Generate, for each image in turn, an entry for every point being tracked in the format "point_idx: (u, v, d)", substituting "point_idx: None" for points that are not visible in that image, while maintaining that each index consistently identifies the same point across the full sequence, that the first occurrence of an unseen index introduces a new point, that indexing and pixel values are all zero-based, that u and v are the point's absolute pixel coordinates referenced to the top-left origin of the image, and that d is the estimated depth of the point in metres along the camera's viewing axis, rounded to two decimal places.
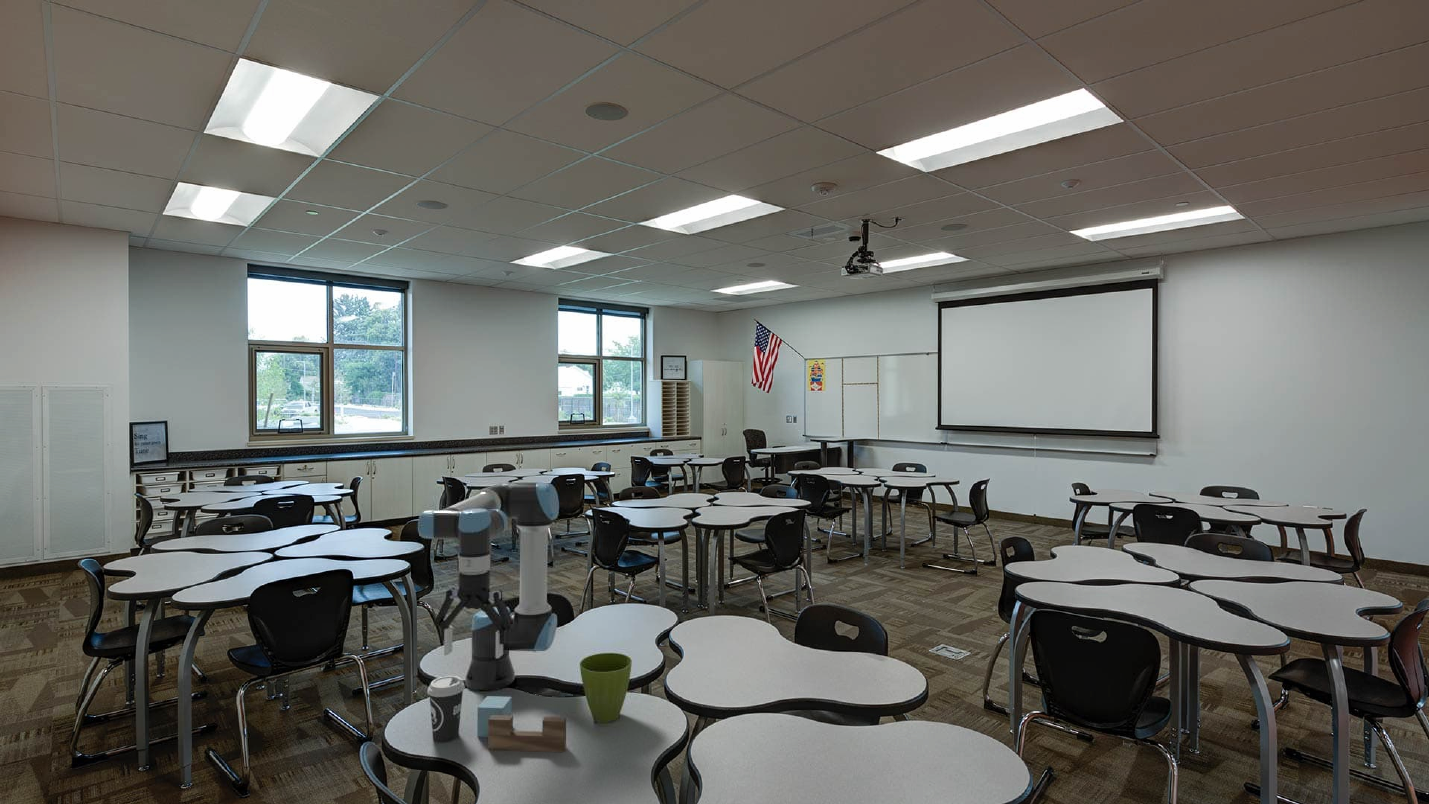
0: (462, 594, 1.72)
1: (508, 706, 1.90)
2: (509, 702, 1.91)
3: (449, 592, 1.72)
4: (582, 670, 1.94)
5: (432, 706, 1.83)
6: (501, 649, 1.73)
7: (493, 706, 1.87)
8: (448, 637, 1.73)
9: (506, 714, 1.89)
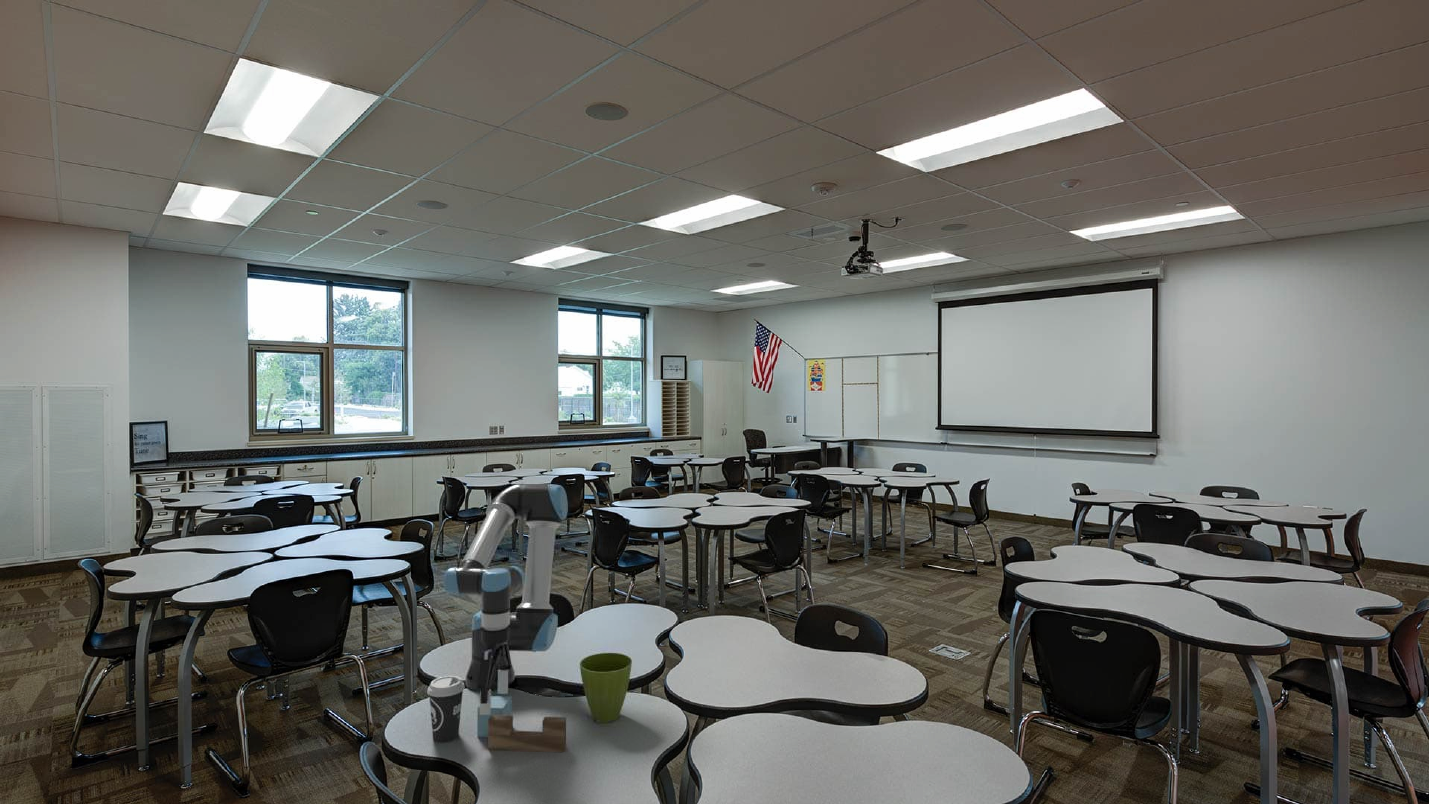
0: None
1: (508, 706, 1.90)
2: (509, 702, 1.91)
3: None
4: (582, 670, 1.94)
5: (432, 706, 1.83)
6: (486, 708, 1.82)
7: (493, 706, 1.87)
8: (500, 678, 1.96)
9: (506, 714, 1.89)
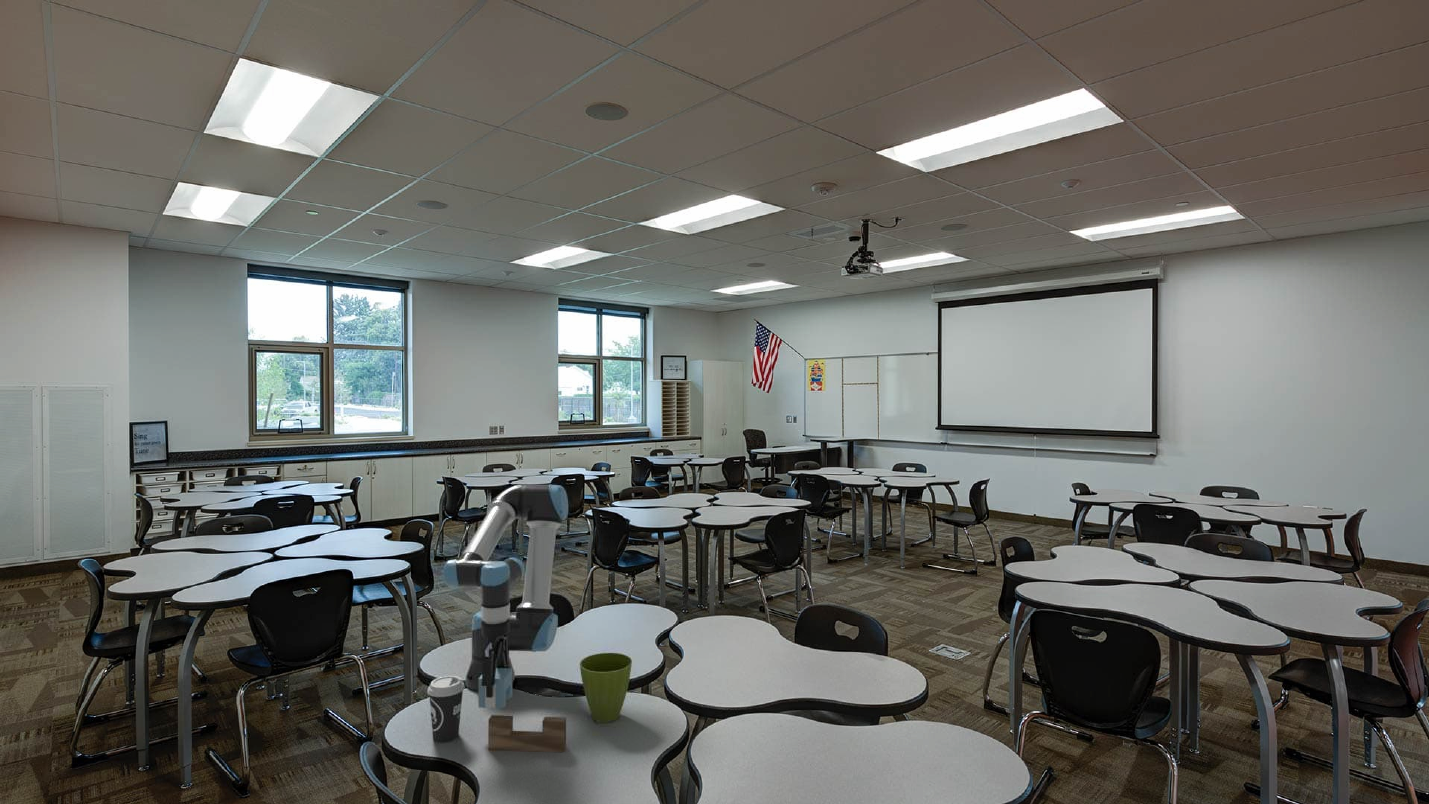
0: None
1: (509, 677, 1.91)
2: (510, 673, 1.92)
3: None
4: (582, 670, 1.94)
5: (432, 706, 1.83)
6: (491, 702, 1.86)
7: None
8: None
9: (507, 685, 1.89)
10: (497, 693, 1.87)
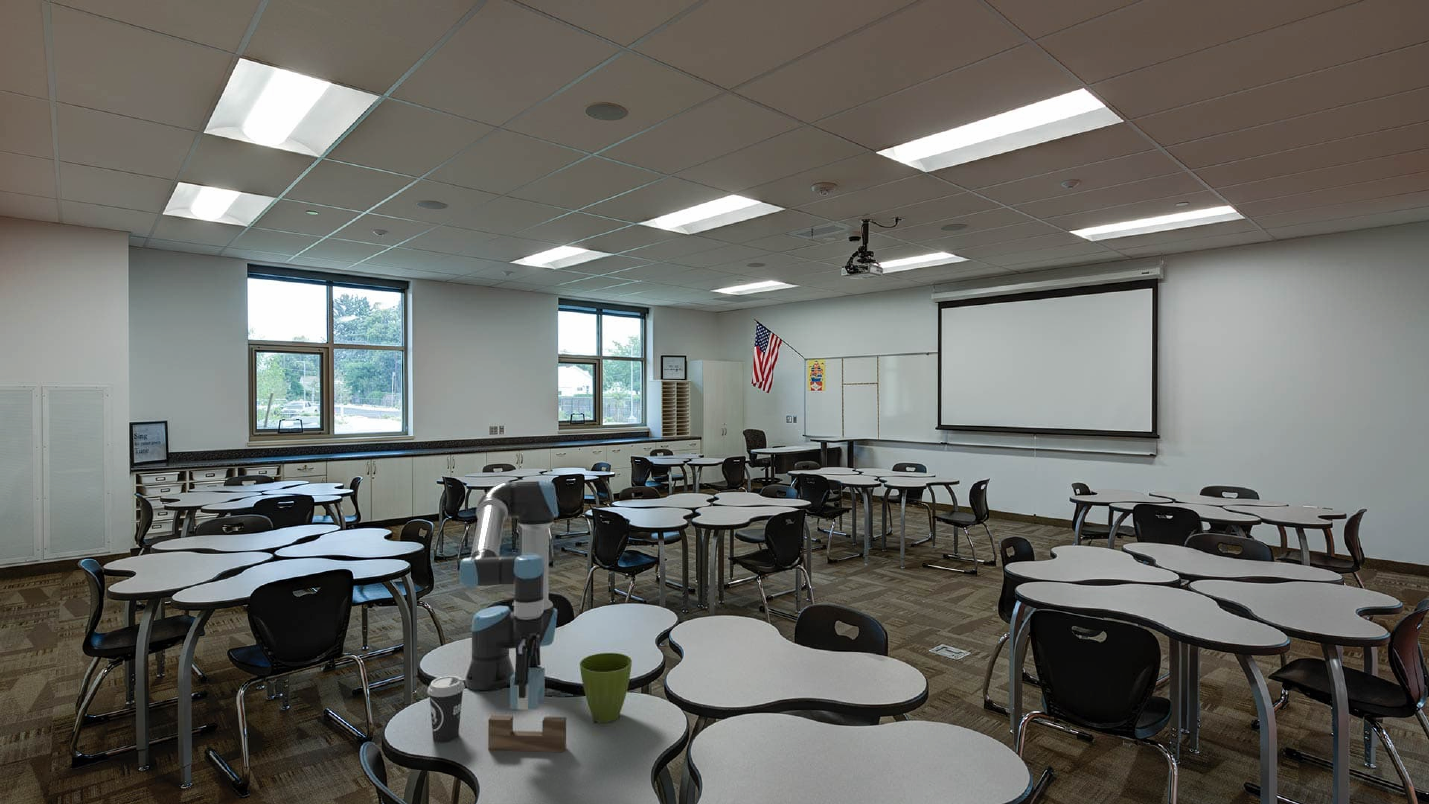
0: None
1: (542, 677, 1.81)
2: (542, 673, 1.82)
3: None
4: (582, 670, 1.94)
5: (432, 706, 1.83)
6: (524, 703, 1.76)
7: None
8: None
9: (540, 685, 1.79)
10: (530, 693, 1.76)
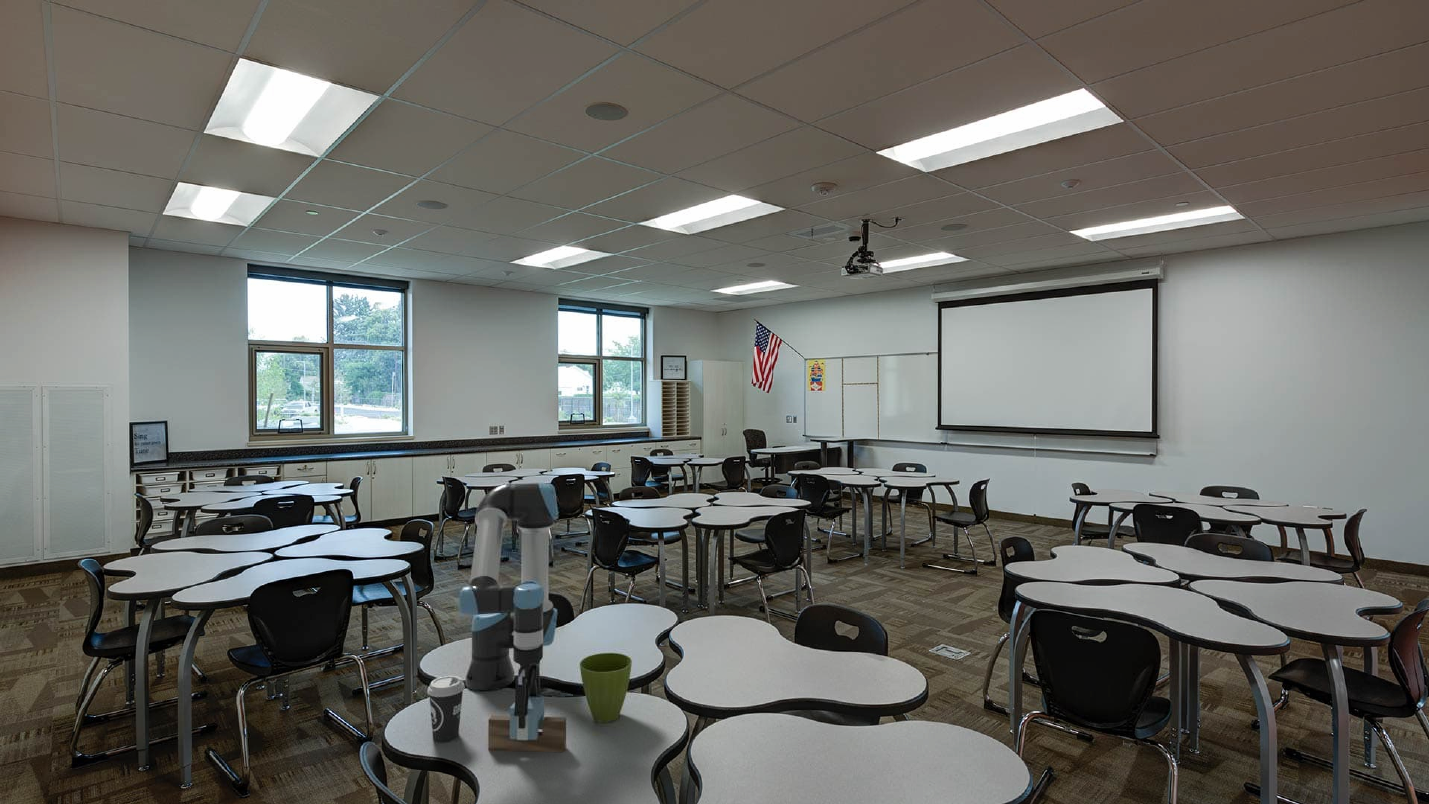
0: None
1: (541, 707, 1.81)
2: (542, 703, 1.82)
3: None
4: (582, 670, 1.94)
5: (432, 706, 1.83)
6: (523, 733, 1.76)
7: None
8: None
9: (539, 715, 1.79)
10: (529, 723, 1.76)
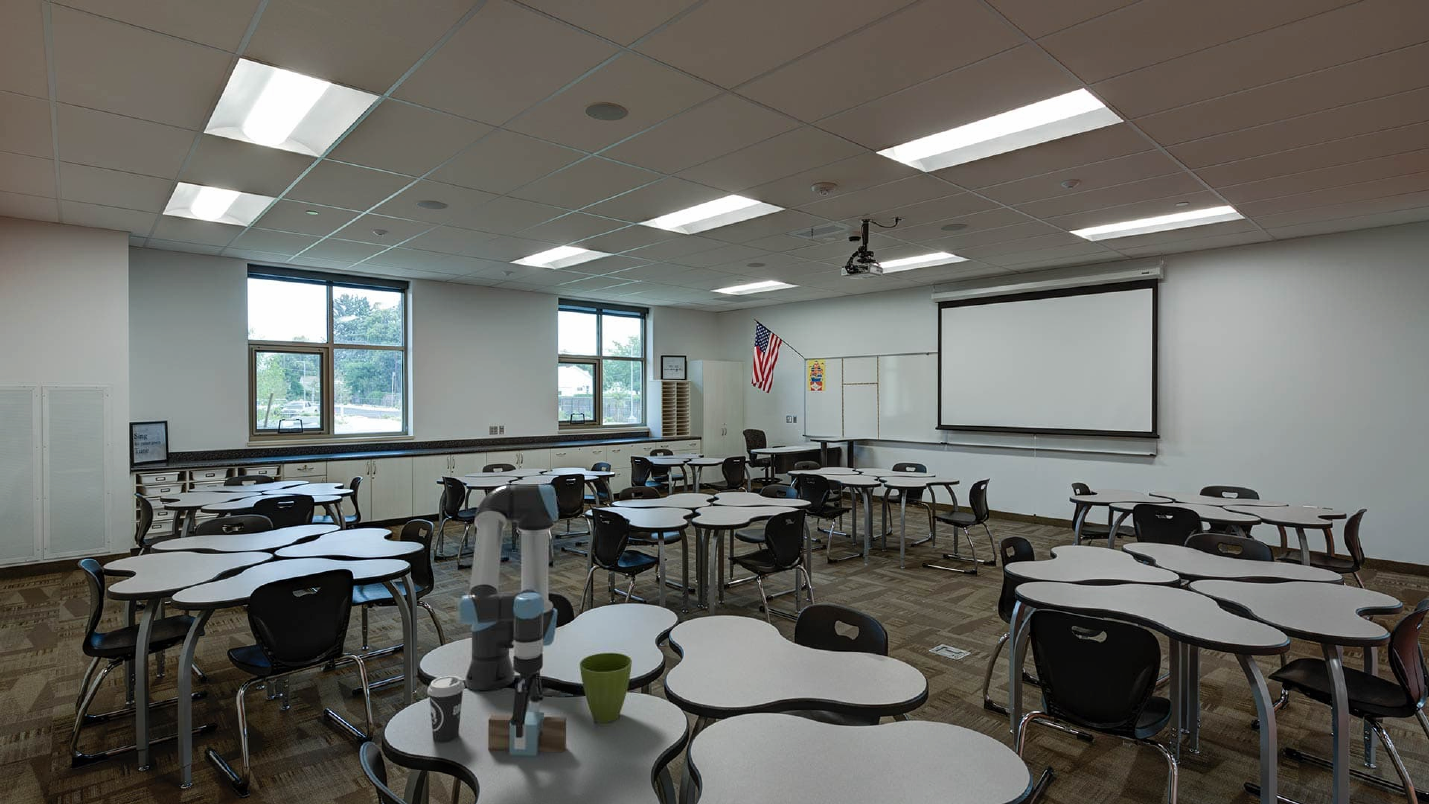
0: None
1: (541, 722, 1.81)
2: (542, 718, 1.82)
3: None
4: (582, 670, 1.94)
5: (432, 706, 1.83)
6: (521, 742, 1.74)
7: None
8: (531, 710, 1.86)
9: (539, 731, 1.79)
10: (529, 740, 1.77)
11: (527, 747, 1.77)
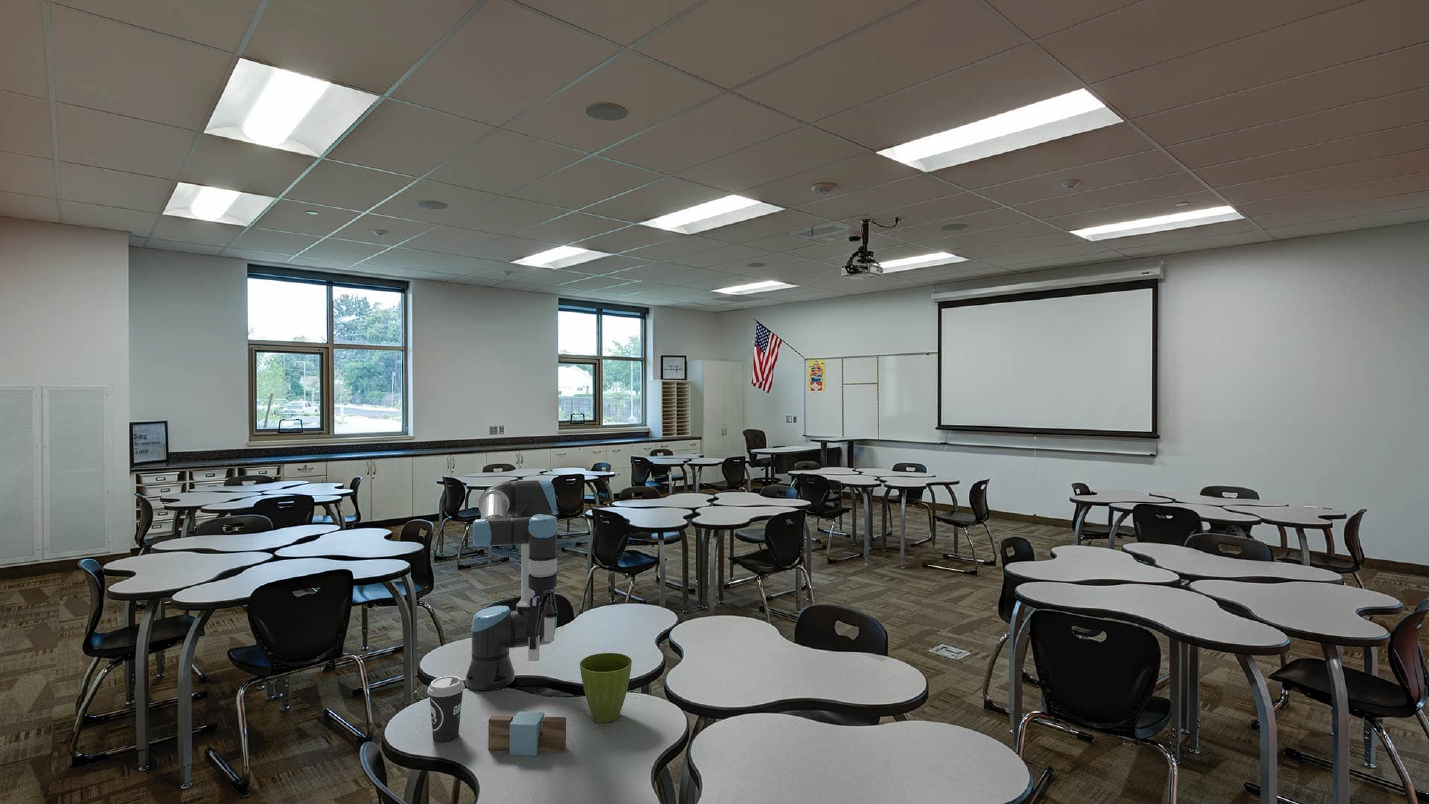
0: None
1: (541, 722, 1.81)
2: (542, 718, 1.82)
3: None
4: (582, 670, 1.94)
5: (432, 706, 1.83)
6: (534, 654, 1.79)
7: (525, 722, 1.78)
8: (547, 626, 1.93)
9: (539, 731, 1.79)
10: (529, 740, 1.77)
11: (527, 747, 1.77)
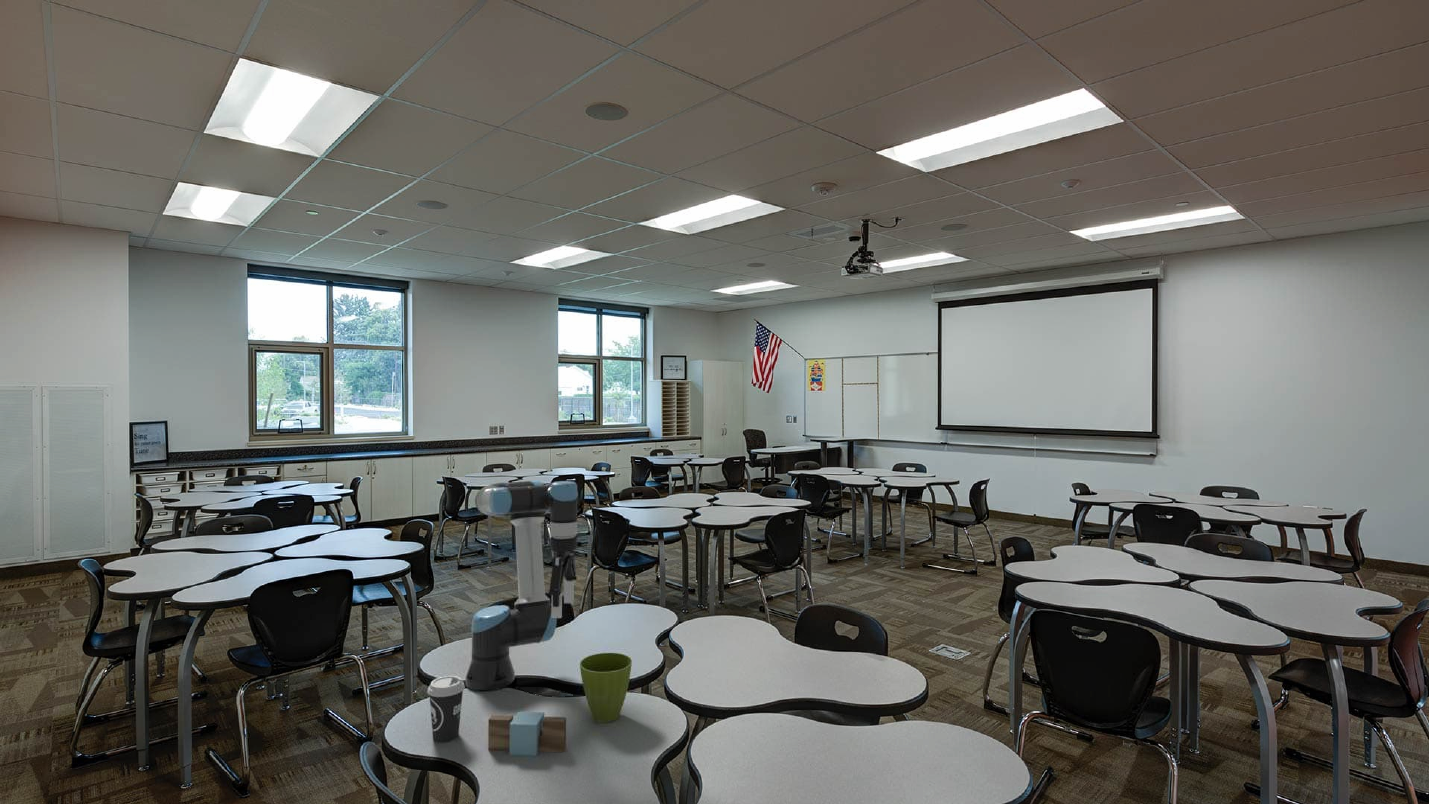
0: None
1: (541, 722, 1.81)
2: (542, 718, 1.82)
3: None
4: (582, 670, 1.94)
5: (432, 706, 1.83)
6: (557, 612, 1.89)
7: (525, 722, 1.78)
8: (566, 588, 2.02)
9: (539, 731, 1.79)
10: (529, 740, 1.77)
11: (527, 747, 1.77)
